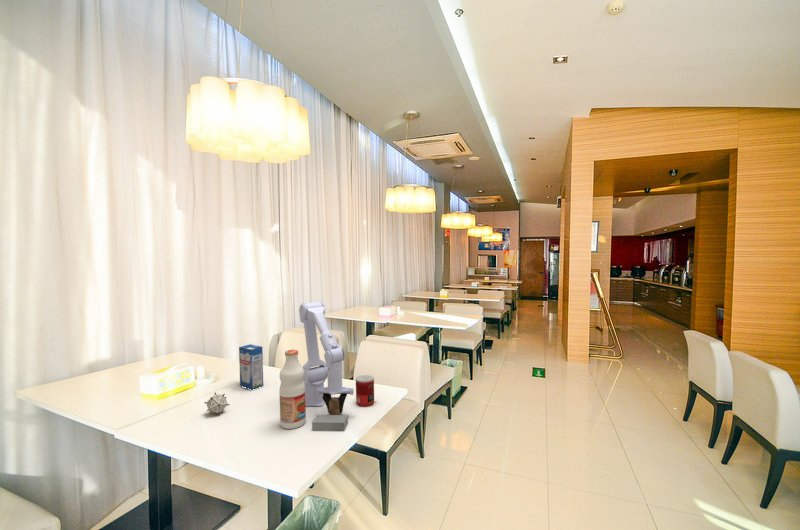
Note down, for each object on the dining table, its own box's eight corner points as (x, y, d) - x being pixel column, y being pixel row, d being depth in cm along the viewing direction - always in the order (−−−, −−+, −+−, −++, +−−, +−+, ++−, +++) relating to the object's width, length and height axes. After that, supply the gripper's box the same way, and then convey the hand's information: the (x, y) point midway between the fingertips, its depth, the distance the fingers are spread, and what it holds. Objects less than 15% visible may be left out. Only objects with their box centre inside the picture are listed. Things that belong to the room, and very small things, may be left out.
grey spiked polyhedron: (223, 420, 142) (238, 400, 143) (206, 422, 134) (222, 400, 135) (212, 406, 146) (226, 386, 147) (195, 407, 138) (211, 386, 139)
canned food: (371, 407, 144) (371, 381, 144) (353, 406, 145) (353, 380, 145) (376, 400, 151) (376, 375, 151) (359, 398, 153) (358, 374, 153)
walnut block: (329, 418, 134) (328, 400, 134) (331, 414, 138) (331, 396, 138) (339, 419, 134) (339, 401, 134) (341, 414, 138) (341, 396, 138)
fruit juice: (281, 419, 134) (280, 348, 134) (306, 416, 136) (304, 347, 136) (278, 431, 125) (277, 355, 125) (305, 427, 127) (303, 353, 127)
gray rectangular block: (312, 430, 125) (312, 422, 125) (317, 422, 131) (316, 414, 131) (344, 430, 125) (344, 422, 125) (347, 422, 131) (347, 415, 131)
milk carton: (263, 386, 170) (262, 346, 169) (252, 390, 164) (251, 349, 164) (251, 382, 175) (250, 344, 175) (240, 386, 170) (238, 347, 169)
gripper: (313, 381, 132) (314, 416, 132) (350, 381, 131) (351, 416, 132) (319, 375, 139) (319, 408, 139) (354, 375, 138) (354, 408, 139)
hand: (335, 411), depth 136 cm, fingers closed on walnut block, 4 cm apart
